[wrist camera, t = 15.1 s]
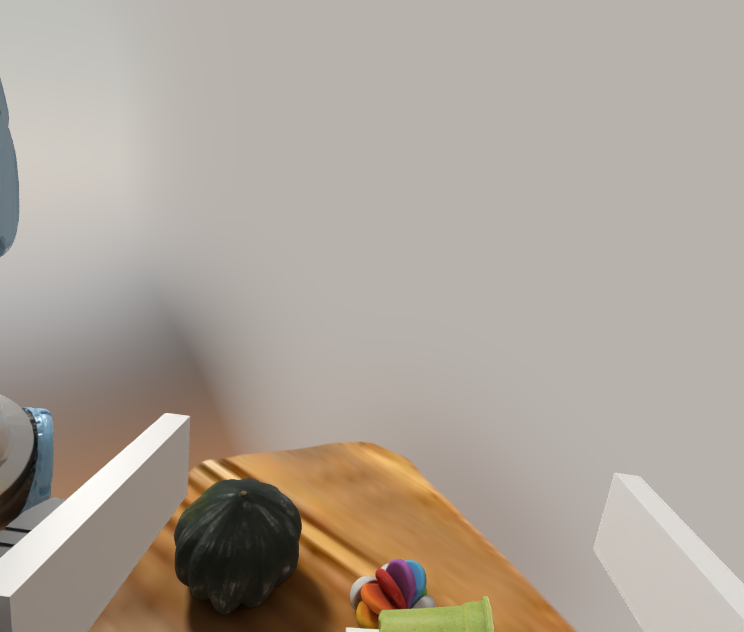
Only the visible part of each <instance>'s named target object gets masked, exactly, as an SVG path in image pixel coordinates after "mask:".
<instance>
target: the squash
mask: <svg viewBox="0 0 744 632" xmlns="http://www.w3.org/2000/svg"><path fill="white" fill-rule="evenodd" d="M301 529H302V523H301V518H300V515H299V512H298V510H297V508H296V506H295V505H294V504H293V502H292V501H291V500H290V499H289V498H288V497H287V496H285V495H284V494H282V493H281V492H280V491H279V490H278V489H277V488H276V487H275V486H272V485H270V484H266V483H260V482H259V481H258V480H255V479H252V478H247V479H242V480H235V479H230V480H223V481H219V482H217V483H215V484H213V485H212V486H211V487H210V488H208V489H207V490H206V491H205V492H204V493H203V495H202V496H201V497H199V498H198V499H197V500H196V501H194V502H193V503H192V504H191V505H189V506H188V507H187V508H186V509H185V511H184V512H183V513H182V515H181V517H180V519H179V521H178V524H177V526H176V529H175V533H174V540H175V545H176V551H175V571H176V575H177V577H178V579H179V580H180V581H181V582H182V583H183V584H185V585H186V586H188V587H190V591H191V594H192V595H193V596H194V597H195V598H197V599H201V600H205V599H209V598H210V600H211V602H212V604H213V606H214V607H215V609H216V610H217V611H218V612H220V613H221V614H228V613H230V612H232V611H233V610H235V609H236V608H237V607H238V606H239V605H240V603H242V604H243V605H245V606H247V607H249V608H254V607H257V606H259V605H260V604H262V603H263V602H264V601H265V600H266V599H267V598H268V596H269V595H270V593H271V591H272V589H273V588H274V587H277V586H279V585H281V584H282V583H283V582H285V581H286V580H287V579H288V578H289V577H290V575H291V574H292V573H293V572H294V570H295V568H296V566H297V562H298V557H299V543H298V541H299V538H300V534H301Z"/></svg>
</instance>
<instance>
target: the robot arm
mask: <svg viewBox="0 0 744 632" xmlns="http://www.w3.org/2000/svg"><path fill="white" fill-rule="evenodd" d="M8 122H9V115H8V108H7V104H6V99H5V95H4V91H3V87H2V83H1V79H0V257H1V256H3V255H4V254H5V253H6V252H7V251H8V250H9V249H10V248H11V246H12V244H13V242H14V239H15V235H16V232H17V226H18V221H19V181H18V170H17V161H16V154H15V149H14V145H13V140H12V137H11V134H10V130H9V128H8ZM53 431H54V430H53V421H52V417H51V413H50V412H49V411H48V410H46V409H42V408H39V409H33V408H30V407H29V408H22V409H21V408H20V407H19V406H18V405H17V404H16V403H15V402H13V401H12V400H10V399H8V398H6V397H5V396H2V395H0V632H88V631H89V629H90V628H91V626H92V625H93V624H94V622H95V621H96V620H97V618H98V617H99V615H100V614H101V613H102V611H103V610H104V609H105V607H106V606H107V604H108V603H109V602H110V600H111V599H112V598H113V596H114V595H115V593H116V592H117V591H118V589H119V588H120V587H121V585H122V584H123V582H124V581H125V580H126V578H127V577H128V576H129V574H130V573H131V571H132V570H133V569H134V567H135V566H136V565H137V563H138V562H139V560H140V559H141V558H142V556H143V555H144V554H145V552H146V551H147V549H148V548H149V547H150V545H151V544H152V543H153V541H154V540H155V538H156V537H157V536H158V534H159V533H160V531H161V530H162V529H163V527H164V526H165V525H166V523H167V522H168V520H169V519H170V518H171V516H172V515H173V514H174V512H175V511H176V509H177V508H178V507H179V505H180V504H181V503H182V501H183V500H184V498H185V497H186V496H187V488H188V461H189V459H188V458H189V433H190V416H185V415H177V414H170V413H165V414H164V415H163V416H161V417H160V418H159V419H158V420H157V421H156V422H155V423H153V424H152V425H151V426H150V427H149V428H148V429H147V430H146V431H144V432H143V433H142V434H141V435H140V436H139V437H138V438H137V439H135V440H134V441H133V442H132V443H131V444H130V445H128V446H127V447H126V448H125V449H124V450H123V451H122V452H120V453H119V454H118V455H117V456H116V457H115V458H114V459H113V460H111V461H110V462H109V463H108V464H107V465H106V466H105V467H103V468H102V469H101V470H100V471H99V472H98V473H97V474H96V475H94V476H93V477H92V478H91V479H90V480H89V481H87V482H86V483H85V484H84V485H83V486H82V487H81V488H79V490H77V491H76V492H75V493H74V494H73V495H71V496H70V497H69V498H68V499H61V498H53V497H52V498H50V496H51V482H52V476H53V459H54V432H53ZM593 550H594V551H595V553H596V555H597V557H598V558H599V560H600V561H601V563H602V565H603V566H604V568H605V570H606V571H607V573H608V575H609V576H610V578H611V579H612V581H613V583H614V584H615V586H616V588H617V589H618V591H619V592H620V594H621V596H622V597H623V599H624V600H625V602H626V604H627V605H628V607H629V609H630V610H631V612H632V614H633V615H634V617H635V619H636V620H637V622H638V623H639V625H640V627H641V628H642V630H643V632H744V584H743V583H742V582H741V581H740V580H739V579H738V578H737V577H736V576H735V575H734V574H733V573H732V572H731V571H730V570H729V568H727V566H726V565H724V563H723V562H722V561H721V560H720V559H719V558H718V557H717V556H716V555H715V554H714V553H713V552H712V551H711V550H710V549H709V548H708V547H707V546H706V545H705V544H704V543H703V542H702V541H701V540H700V539H699V537H698V536H697V535H696V534H695V533H694V532H693V531H692V530H691V529H690V528H689V527H688V526H687V525H686V524H685V523H684V522H683V521H682V520H681V519H680V518H679V517H678V516H677V515H676V514H675V513H674V511H672V509H671V508H670V507H669V506H668V505H667V504H666V503H665V502H664V501H663V500H662V499H661V498H660V497H659V496H658V495H657V494H656V493H655V492H654V491H653V490H652V489H651V488H650V487H649V486H648V485H647V484H646V482H645V481H644V480H643V479H642V478H641V477H640V476H635V475H627V474H619V473H614V476H613V480H612V483H611V487H610V490H609V494H608V498H607V501H606V505H605V508H604V512H603V516H602V519H601V523H600V526H599V530H598V534H597V537H596V541H595V544H594V548H593Z"/></svg>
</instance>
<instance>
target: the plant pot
mask: <svg viewBox="0 0 744 632" xmlns="http://www.w3.org/2000/svg"><path fill="white" fill-rule="evenodd" d="M378 619H379V632H494V626H493V618H492V611H491V606H490V601H489V598H488V597H486V596H484V597H482V601H478V602H468V603H465V604H464V605H462V606H451V607H434V608H417V609H396V610H382V611H381V613H380V614H379V618H378Z"/></svg>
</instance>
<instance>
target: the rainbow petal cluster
mask: <svg viewBox="0 0 744 632" xmlns="http://www.w3.org/2000/svg"><path fill="white" fill-rule="evenodd" d="M375 576H376V579H375V578H373V577H370V576H364V577H361V578H359V579H358V580H357V581H356V582H355V583H354V584H353V586H352V588H351V592H350V601H351V604H352V607H353V608H354V609H355V610H357V611H356V619H357V623H358V625H359V627H360V628H363V629H379V619H378V618H379V614H380V613H381V611H382V610H396V609H417V608H434V607H436V603H435V601H434V599H433V598H432V596H430V595H427V589H426V574H425V571H424V569H423V567H422V566H421V565H420V564H419V563H418V562H416V561H412V560H407V561H404V560H401V559H394V560H392V561H391V562H390V563H388V564H386V565H384V566H383V567H382V568H379V569H378V570H377V571H376V575H375Z"/></svg>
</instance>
